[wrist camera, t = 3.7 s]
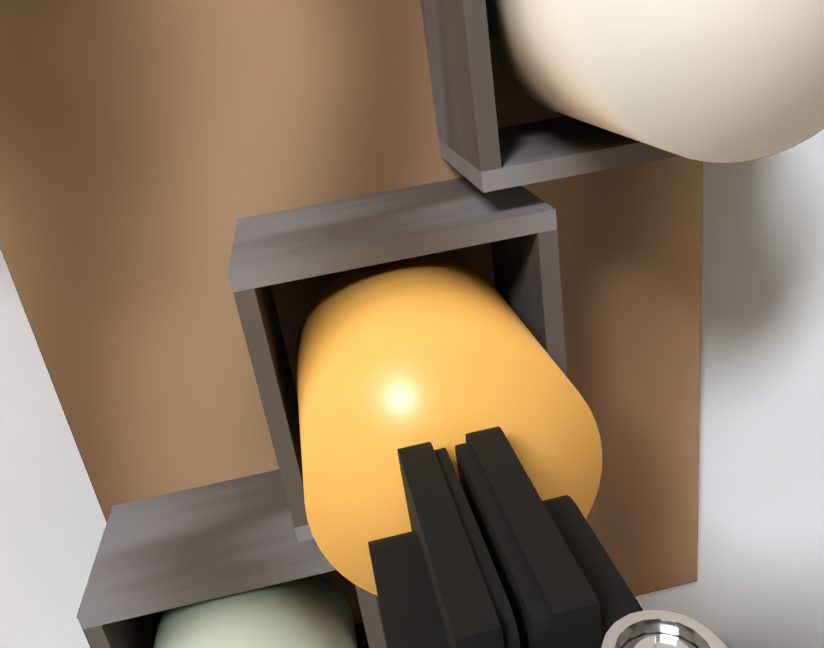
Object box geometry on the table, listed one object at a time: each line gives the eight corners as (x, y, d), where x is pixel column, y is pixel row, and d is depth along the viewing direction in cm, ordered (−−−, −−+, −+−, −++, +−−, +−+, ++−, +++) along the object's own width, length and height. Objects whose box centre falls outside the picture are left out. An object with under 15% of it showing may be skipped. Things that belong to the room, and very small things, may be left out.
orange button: (504, 231, 16) (595, 318, 12) (523, 428, 18) (608, 568, 14) (273, 276, 16) (273, 385, 11) (319, 473, 18) (335, 634, 13)
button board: (679, -255, 16) (843, -362, 12) (678, 556, 26) (770, 679, 21) (-127, -150, 15) (-316, -226, 10) (183, 678, 24) (161, 840, 19)
